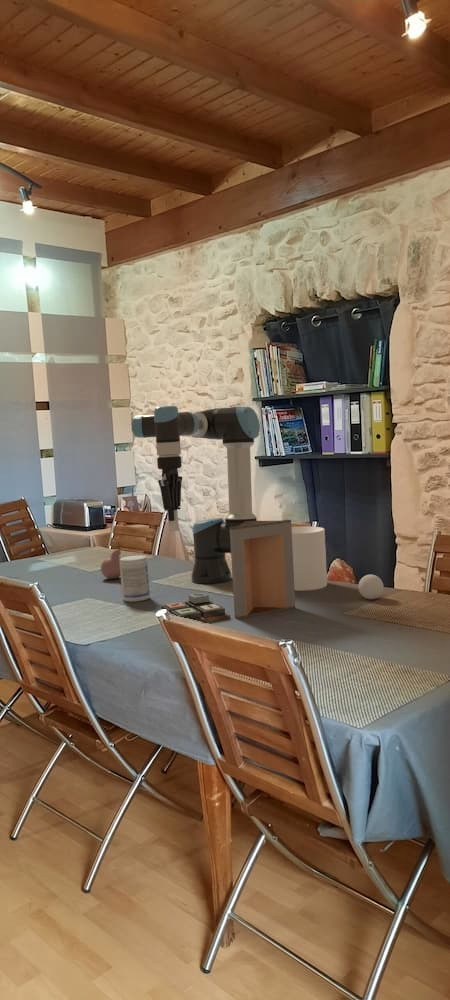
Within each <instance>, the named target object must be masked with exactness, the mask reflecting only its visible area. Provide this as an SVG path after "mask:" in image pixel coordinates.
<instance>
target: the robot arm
mask: <svg viewBox="0 0 450 1000" xmlns="http://www.w3.org/2000/svg"><path fill="white" fill-rule="evenodd" d="M153 410H154V411H153V413H152V414H140V415H136V416H134V417H133V418H132V420H131V424H130V425H131V432H132V434H133V435H134V437H136V438H141V439H147V438H155V443H156V444H155V449H156V455H157V456H158V457H157V458H156V462H157V464H156V465H157V469H158V470H161V479H159V480H158V481H157V483H158V485H159V490H160V494H161V499H162V505H163V506H162V507H163V509H164V512H165V511H166V512H167V521H168V532H178V531H179V530H180V529H179V528H180V527H179V515H178V513H179V512H178V511H179V510H181V505H182V504H181V502H182V501H181V500H182V484H183V476H180V475H179V470H178V469H181V468H182V466H183V465H182V463H183V462H182V457H181V454H182V447H181V439H180V438H181V437H184V436H185V437H186V436H190V437H191V438H195V439H205V440H206V439H207V440H216V441H217V440H222V445H223V447H225V448H226V454H227V455H226V458H227V459H226V460H227V486H228V487H227V490H228V514H227V515H226V517H225V520H224V518H223V517H216V518H215V517H214V518H209V519H204V520H203V519H202V520H198V521H196V522H194V523H193V526H192V527H193V528H192V530H193V531H192V535H193V537H192V538H193V548H194V564H193V568H192V572H191V582H193V583H195V584H218V583H224V582H227V581H230V580H231V579H232V571H231V569H230V567H229V564H228V562H227V560H226V554H231V544H230V527H236V526H238V525H240V524H242V523H243V522H245V521H258V520H257V516H256V515H255V514H254V513H253V496H252V467H251V466H252V465H251V464H252V463H251V447H252V446H253V445H255V439H257V438H258V437H259V435H260V429H261V427H260V425H261V424H260V420H259V416H258V414H257V413H256V411H255V409H253V408H252V407H250V406H241V405H240V406H233V407H232V406H230V407H221V408H220V407H219V408H218V407H216V408H210V409H206V410H200V411H192V412H191V411H190V412H189V411H179V408H178V406H176V405H168V406H156V407H155V408H154V409H153Z"/></svg>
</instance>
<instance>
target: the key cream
mask: <svg viewBox="0 0 450 1000" xmlns="http://www.w3.org/2000/svg"><path fill="white" fill-rule="evenodd" d="M215 604H216V603H214V604H211V605H205V606H199V608H200V609H202V610H204V611H208V610H214V609H220V608H221V607H222V606H221V607H219V606H220V605H219V606H217V605H218V604H217V605H215Z"/></svg>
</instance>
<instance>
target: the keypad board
mask: <svg viewBox="0 0 450 1000" xmlns="http://www.w3.org/2000/svg"><path fill="white" fill-rule="evenodd" d="M180 602H181V603H182V604H184V605H186V607H180V608H174V609H169V608H167V607H166V606H165V605H166V604H162V605H161V610H162V609H167V610H168V611H169V612H170V613H171V614H174V615H176V616H180V617H184V618H189V619H193V620H197V621H201V622H204V623H203V624H206V623H211V622H217V621H223V620H229V619H231V614H229V613H228V612H226V609H225V607H224V606H221V605H219V604H217V603H214V602H213V601H211V600H209V602H203V603H197V604H194V603H192V602H190V601H189V600H186V601H184V602H183V601H180ZM211 604H215V605H217V606H219V607H221V608H220V609H214V610H208V611H204V610H202V609H200V608H199V606H205V605H211ZM186 608H192V609H193V610H195V611H196V613H190V614H184V615H179V614H177V613H176V612H175V610H180V609H186Z"/></svg>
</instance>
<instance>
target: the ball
mask: <svg viewBox="0 0 450 1000" xmlns="http://www.w3.org/2000/svg"><path fill="white" fill-rule="evenodd" d="M357 587H358V592H359V594H360V595H361V596H362V597H364V598H365V599H366V600H375V599H378V598H379V597H380V596H381V595H382V594H383V592H384V583H383V581H382V579H381V578H380V577H379V576H377V575H375V574H372V573H371V574H366V575H364V576H363V577H362V578H361V579H360V580H359V582H358V586H357Z"/></svg>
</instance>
